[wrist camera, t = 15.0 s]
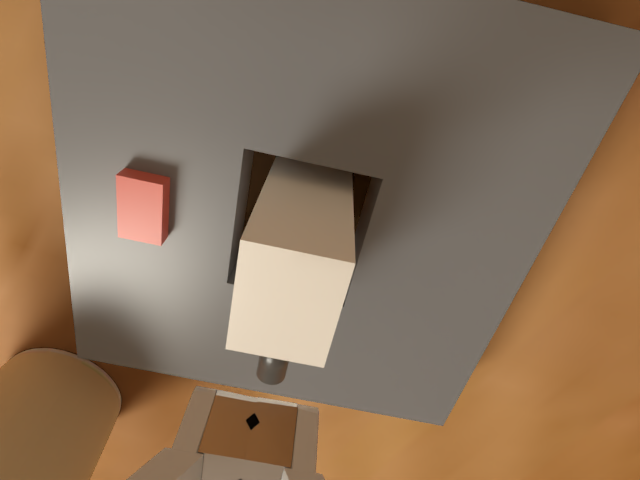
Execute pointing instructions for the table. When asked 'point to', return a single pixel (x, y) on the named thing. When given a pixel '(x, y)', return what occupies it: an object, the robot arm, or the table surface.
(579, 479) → the table surface
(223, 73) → the socket plate
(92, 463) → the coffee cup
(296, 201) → the plug
